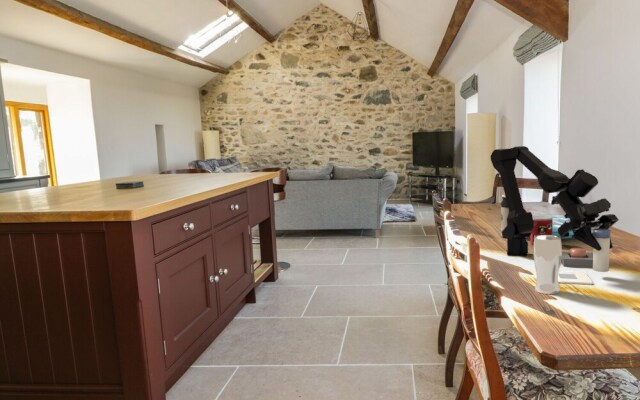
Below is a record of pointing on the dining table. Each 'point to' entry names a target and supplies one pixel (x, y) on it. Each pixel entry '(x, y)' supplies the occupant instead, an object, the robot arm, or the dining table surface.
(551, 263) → the beer glass
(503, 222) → the travel mug
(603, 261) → the blue capped bottle
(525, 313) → the dining table surface
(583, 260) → the button housing
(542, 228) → the canned food
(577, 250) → the button
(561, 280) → the cream square base plate
